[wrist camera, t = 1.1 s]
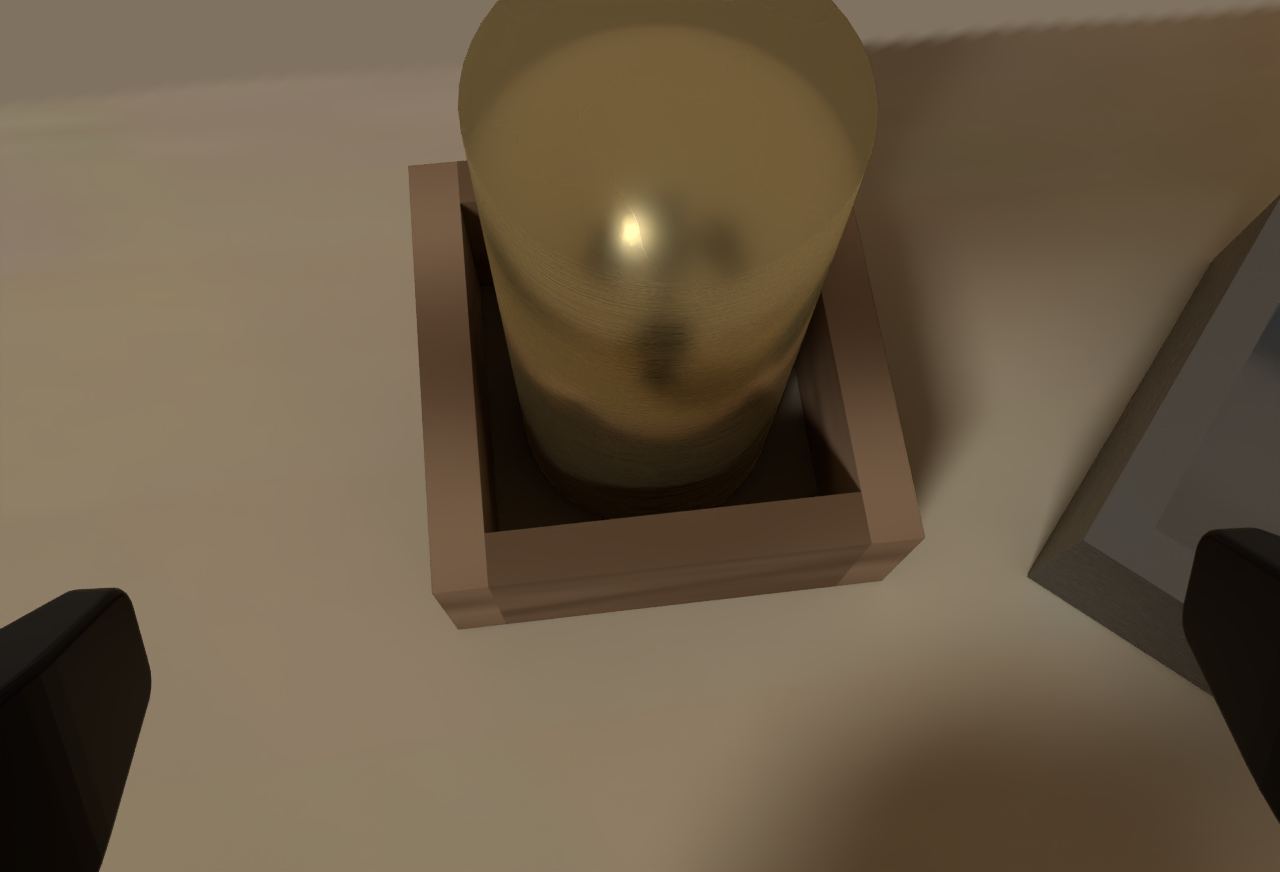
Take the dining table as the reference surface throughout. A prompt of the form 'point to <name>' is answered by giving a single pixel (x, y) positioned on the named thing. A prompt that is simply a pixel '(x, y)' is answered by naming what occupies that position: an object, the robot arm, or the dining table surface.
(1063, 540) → the tray
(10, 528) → the dining table surface
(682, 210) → the tan cylinder
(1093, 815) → the dining table surface
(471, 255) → the walnut socket
